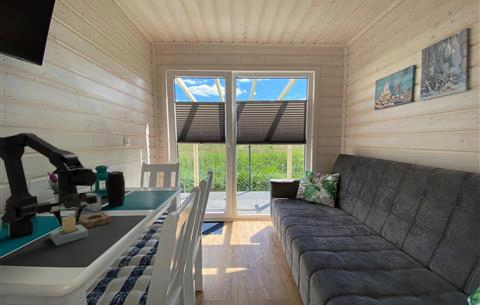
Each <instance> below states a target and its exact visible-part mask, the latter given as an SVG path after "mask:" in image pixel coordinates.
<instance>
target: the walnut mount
mask: <svg viewBox="0 0 480 305" xmlns="http://www.w3.org/2000/svg"><path fill="white" fill-rule="evenodd" d="M109 223H112V217H111V216H110V215H108V214H106V213H105V212H98V213H94V214H90V215H85V216H80V217H79V220H78V225H79V224H81V225H82V226H83V227H85V228H86V229H89V228H93V227H97V226H100V225H101V226H102V225H105V224H109Z"/></svg>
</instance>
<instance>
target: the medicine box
mask: <svg viewBox="0 0 480 305" xmlns="http://www.w3.org/2000/svg"><path fill="white" fill-rule="evenodd" d="M91 194H92V195H94V196H96V197H97V203H94V204H88V203H86V205H88V206H87V207H85V208H84V210H85V211H88V212H92V213H95V212H98V211H101V210H102V195H101V194H99V193H93V192H91V193H86V195H91Z"/></svg>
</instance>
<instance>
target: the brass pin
mask: <svg viewBox="0 0 480 305" xmlns="http://www.w3.org/2000/svg"><path fill="white" fill-rule="evenodd" d="M61 220H62V227H61V229H62V232H63V235H65V234H69V233H73V232H76V225H77V223H76V221H75V215H68V216H63V217H61Z"/></svg>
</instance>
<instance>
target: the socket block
mask: <svg viewBox="0 0 480 305" xmlns="http://www.w3.org/2000/svg"><path fill="white" fill-rule="evenodd" d="M88 237H89V230H88V228H85V227H83V226H82V225H81V224H79V223H78V224H76V232H73V233H69V234H65V235H63V232H62V228H60V229H59V228H58V229H55V230H51V231H49V238H50V240H51V241H52V242H53V243H54V245H55V246H59V245H60V246H61V245H63V244H67V243H71V242H74V241H78V240H81V239H84V238H88Z"/></svg>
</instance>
